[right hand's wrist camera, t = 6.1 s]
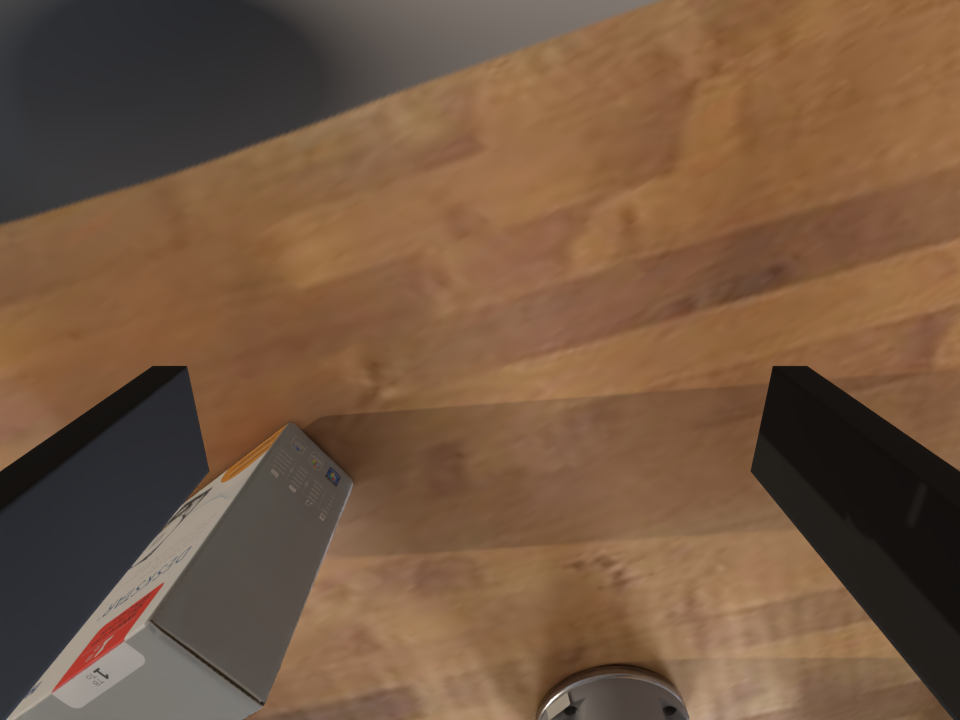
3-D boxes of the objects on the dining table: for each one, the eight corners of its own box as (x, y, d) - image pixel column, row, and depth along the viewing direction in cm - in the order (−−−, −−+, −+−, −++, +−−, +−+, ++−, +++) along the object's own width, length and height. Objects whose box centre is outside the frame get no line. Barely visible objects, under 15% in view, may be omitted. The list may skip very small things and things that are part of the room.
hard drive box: (291, 416, 44) (153, 618, 25) (357, 480, 46) (274, 710, 28) (163, 516, 47) (-41, 758, 29) (230, 571, 50) (81, 829, 31)
